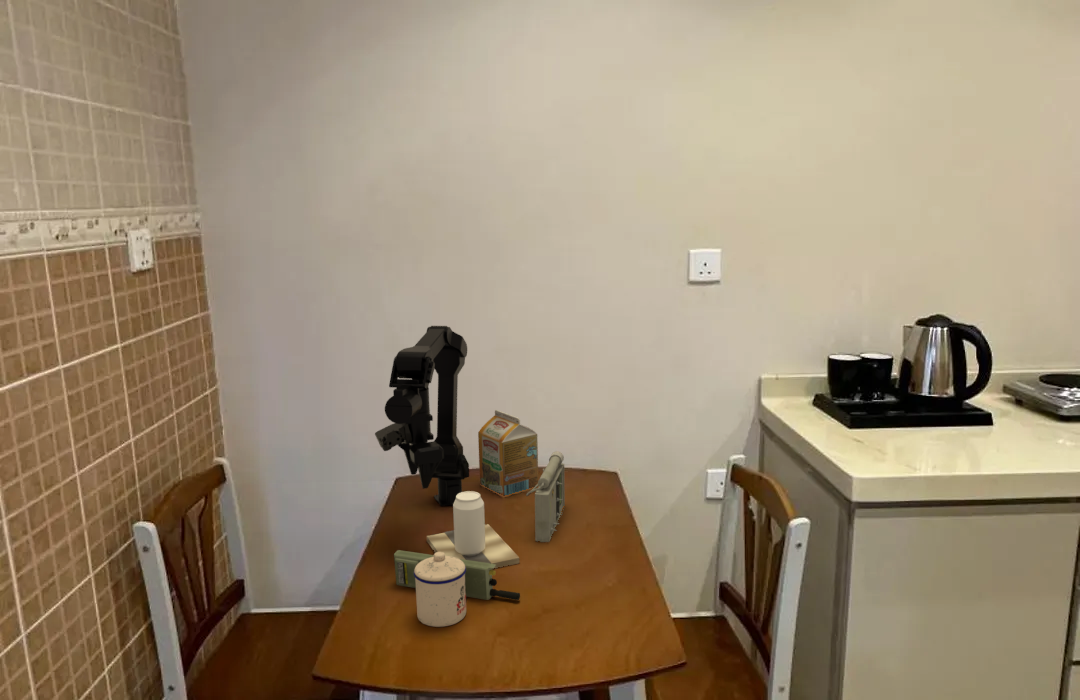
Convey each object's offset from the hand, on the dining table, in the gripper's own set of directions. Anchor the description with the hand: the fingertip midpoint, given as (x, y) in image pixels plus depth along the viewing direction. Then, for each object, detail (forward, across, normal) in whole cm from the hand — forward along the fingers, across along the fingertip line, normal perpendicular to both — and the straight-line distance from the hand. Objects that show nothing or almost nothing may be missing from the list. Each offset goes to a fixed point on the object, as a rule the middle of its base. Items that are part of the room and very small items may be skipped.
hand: (419, 481), depth 171 cm
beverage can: (+12, +13, +6) cm, 19 cm away
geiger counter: (+13, +2, +29) cm, 32 cm away
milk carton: (+13, -20, +28) cm, 37 cm away
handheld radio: (+14, +26, 0) cm, 29 cm away
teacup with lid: (+13, +31, -5) cm, 34 cm away
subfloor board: (+13, +11, +8) cm, 19 cm away
